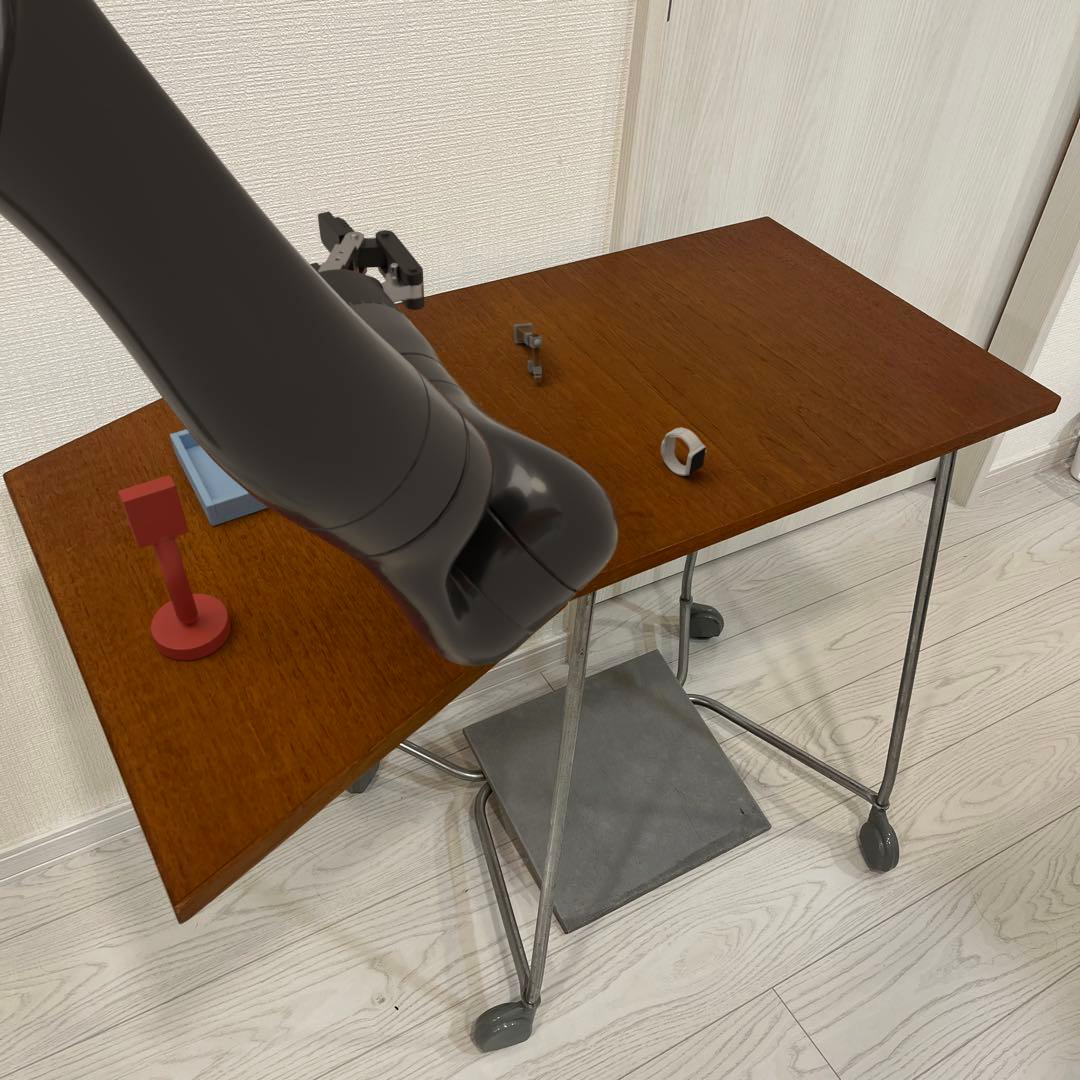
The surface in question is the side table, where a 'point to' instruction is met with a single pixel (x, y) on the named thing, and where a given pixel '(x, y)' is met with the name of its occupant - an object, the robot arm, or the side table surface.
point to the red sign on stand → (174, 574)
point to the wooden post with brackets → (526, 335)
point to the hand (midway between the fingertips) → (261, 239)
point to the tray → (212, 482)
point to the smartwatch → (694, 456)
